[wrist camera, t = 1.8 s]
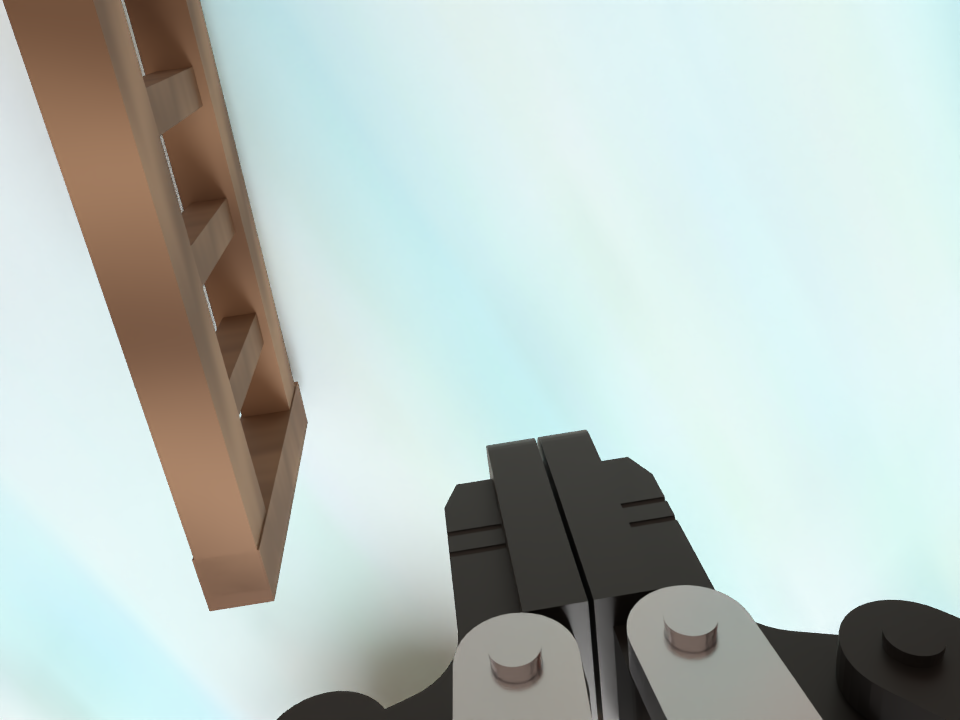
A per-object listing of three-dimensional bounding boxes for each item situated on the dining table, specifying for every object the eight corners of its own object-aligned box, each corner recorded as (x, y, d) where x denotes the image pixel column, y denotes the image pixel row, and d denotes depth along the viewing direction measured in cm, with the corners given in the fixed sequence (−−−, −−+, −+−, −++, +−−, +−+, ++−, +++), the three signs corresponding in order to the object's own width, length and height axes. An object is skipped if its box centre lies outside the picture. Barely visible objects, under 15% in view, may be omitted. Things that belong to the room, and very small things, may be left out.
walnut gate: (118, -95, 21) (-48, -138, 13) (179, -103, 21) (51, -150, 13) (261, 429, 28) (209, 611, 20) (307, 422, 28) (274, 600, 20)
